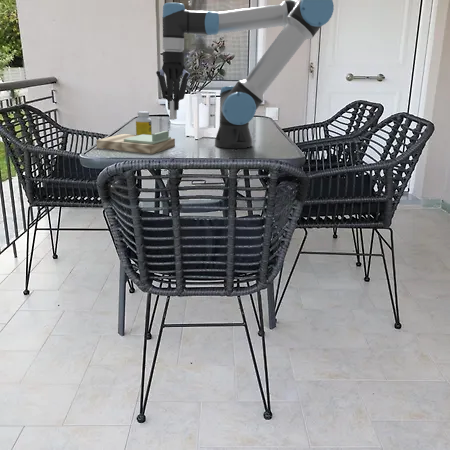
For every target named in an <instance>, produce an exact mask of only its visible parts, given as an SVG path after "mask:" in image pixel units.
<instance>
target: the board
mask: <svg viewBox="0 0 450 450" xmlns="http://www.w3.org/2000/svg"><path fill="white" fill-rule="evenodd" d="M134 136H138V135H136V134H129V133H128V134H127V133H121V134H116V135H112V136H108V137H103V138H99V139H96V140H95V141H96V148H97V149H103V148H106V149H105V150H112V149H114V151H121V152H130V153H131V152H133V153H142V154H150V155H151V154H152V155H153V154H156V153H159V152H162V151H165V150H168V149H171V148H174V147H175V146H176V138H173V137H171V139H169V140H166V141H163V142H159V143H156V144H145V143H135V142H125V141H124V139H126V138H130V137H134Z"/></svg>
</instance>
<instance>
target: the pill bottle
mask: <svg viewBox="0 0 450 450" xmlns="http://www.w3.org/2000/svg"><path fill="white" fill-rule="evenodd" d="M149 116H150V112H149V111H147V110H146V111H144V110H143V111H137V118H135V135H142V134H145V135H152V134H153V133H152V132H153V131H152V118H150V117H149Z"/></svg>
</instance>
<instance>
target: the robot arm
mask: <svg viewBox="0 0 450 450" xmlns="http://www.w3.org/2000/svg"><path fill="white" fill-rule="evenodd" d="M334 5H335V4H334V2H333V0H283V1H282V2H281V3H279V4H273V5H272V4H271V5H264V6H255V7H249V8H248V7H247V8H239V9H231V10H224V11H223V10H222V11H211V10H189V9H188V10H187V9H186V7H185V4H184V3H180V2H166V3H164V4H163V6H162V16H161V17H162V50H163V51H162V66H161V69H159V70H157V71H156V72H155V73H156V76H157V77H158V81H159V86H160V90H161V95H162V99H165V100H167V110H168V111H169V120H171V121H175V120H177V119H178V116H177V115H178V114H177V113H178V111H179V110H180V109H179V108H180V107H179V106H180V101H181V100H184V98H185V96H186V95H185V94H186V90H187V85H188V82H189V78H190V77H191V75H192V73H191V72H188V71H187V70H186V67H185V52H183V51H184V50H185V34H186V35H187V34H189V35H196V36H198V37H206V36H215V35H218V34H219V35H220V34H229V33H235V32H246V31H252V30H253V31H254V30H259V29H260V30H263V29H268V28H275V27H276V28H277V27H283V28H282V30H281V31H280V33H279V34H278V35H277V36H276V37H275V39H274V40H273V42H272V43H271V45H270V46H268V48H267V50H266V51H265V52H264V54H263V55H261V58H260V59H258V62H257V63H256V64H255V65H254V67H253V68H252V70H251V71H250V72H249V73H248V74H247V76H246V77H245V78H244V79H242V80H241V79H240V80H239V79H238V81H237V82H236V83H235V85H227V86H222V87H221V88H220V93H219V98H220V99H219V100H220V101H219V105H220V106H219V127H218V130H217V133H216V136H215V139H214V146H215V147H218V148H223V149H247V147H249V148H251V147H250V146H252V147H253V139H252V135H251V132H250V128H249V124H250V123H249V122H251V120H253V118H254V117H255V115H256V113H257V112H256V111H257V110H258V108H259V107H260V106H261V105H262V103H263V102H264V94H265V93H266V91H267V90H268V89H269V87H270V86H271V85H272V84H273V82H274V81H275V80H276V78H277V77H278V76H279V75H280V73H282V71H283V69H284V68H285V67H286V66H287V64H288V63H289V62H290V61H291V59H293V57H294V55H295V54H296V53H297V52H298V50H299V49H300V48H301V47H302V45H303V44H304V42H306V40H312V39H313V38H314V37H315V35H316V34H317V33H318V32H319V30H320V29H321V27H323V26H324V25H326V24H327V23H328V22H329V21H330V20H331V18H332V17H333V13H334V10H335V8H334V7H335V6H334ZM165 76H166V77H165ZM181 77H182V79H181ZM180 81H181V82H180Z"/></svg>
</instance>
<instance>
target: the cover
mask: <svg viewBox="0 0 450 450" xmlns="http://www.w3.org/2000/svg"><path fill="white" fill-rule="evenodd" d="M171 138H172V136H169V130H163V131H158V132H156V133H152V135H145V134H142V135H138V136H134V137H130V138H126V139H124V141H125V142H135V143H145V144H156V143H159V142H163V141H166V140H169V139H171Z"/></svg>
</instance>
